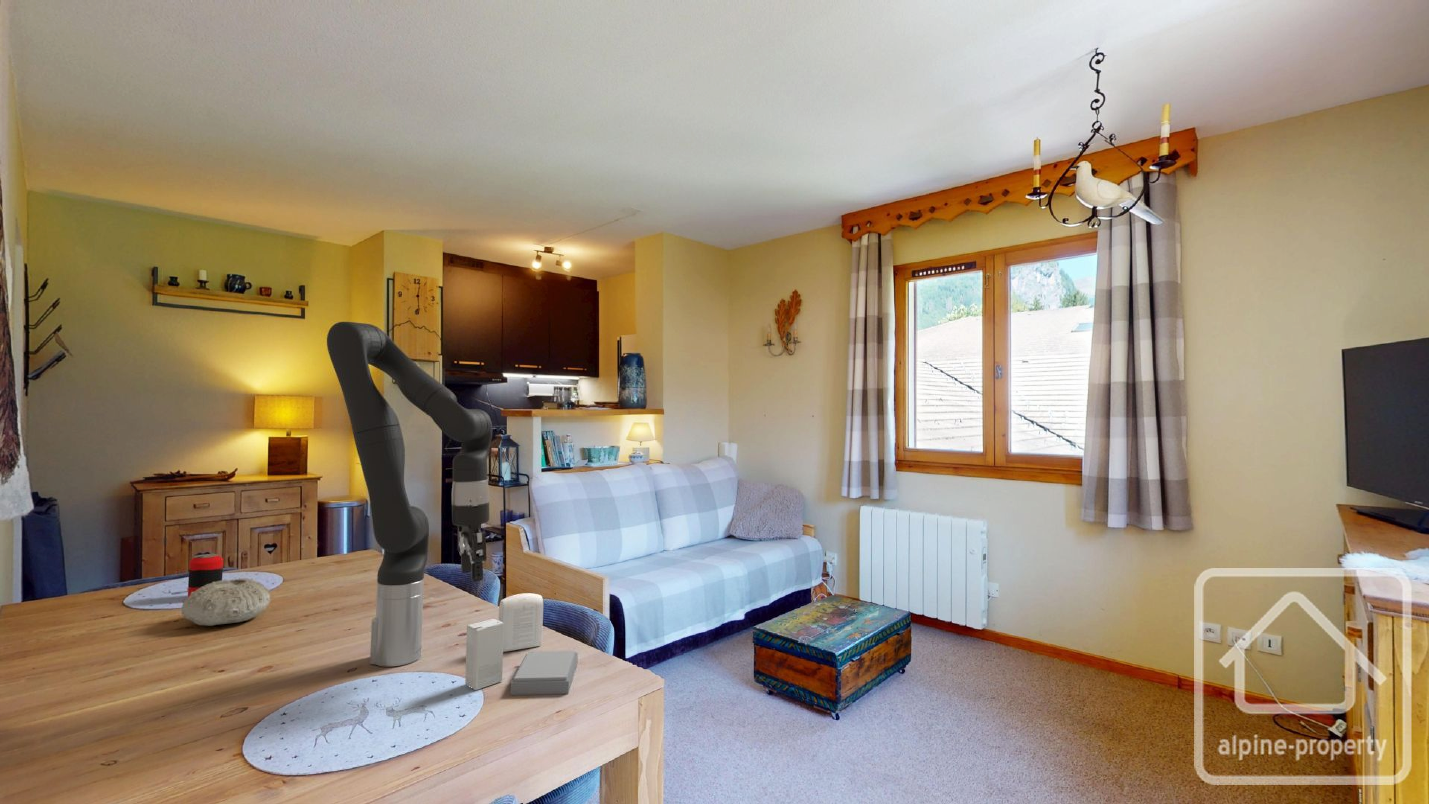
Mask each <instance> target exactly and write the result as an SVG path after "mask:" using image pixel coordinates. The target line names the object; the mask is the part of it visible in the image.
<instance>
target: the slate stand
mask: <svg viewBox="0 0 1429 804" xmlns="http://www.w3.org/2000/svg"><path fill="white" fill-rule="evenodd" d="M578 655H579V652H576V650H543V651H542V650H540V651H539V650H536V651H535V650H533V651H527V652H526V654H525V655H524V657H523V659H522V661H521V663H520V665H519V667H518V669H517V671H515V672H516V673H515V674H514V676H513V678H512V680H511V682H510V696H525V695H527V696H529V695H533V696H534V695H564V694H565V695H567V694H568V695H569V693H570V690H571V687H572V683H573V679H574V677H575V674H574V673H576V670H577V667H578V664H577V663H578V657H579V656H578Z"/></svg>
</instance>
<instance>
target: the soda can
mask: <svg viewBox="0 0 1429 804" xmlns="http://www.w3.org/2000/svg"><path fill="white" fill-rule="evenodd" d="M188 566H189V567H188V579H187V580H188V584H187V598H188V597H189V596H190V594H191V592H194V591H196V590H197V589H199V588H201V587H203V586H205V585H206V584H210V583H212V582H216V581H223V570H224V568H223V567H224V558H223V557H222V556H221V555H220V554H219V553H204V554H198V555H195V556H193V558H191V560H189V564H188Z"/></svg>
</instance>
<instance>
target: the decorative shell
mask: <svg viewBox="0 0 1429 804" xmlns="http://www.w3.org/2000/svg"><path fill="white" fill-rule="evenodd" d="M269 591H270V590H269V589H268V588H267V587H266V586H265V585H264V584H263V583H261V582H260V581H257V580H254V579H253V578H251V579H250V578H246V577H245V578H241V577H240V578H237V579H230V580H229V579H228V580H227V579H222V581H216V582H212V583H210V584H206V585H205V586H203V587H201V588H199V589H197V590H196V591H194V592H191V594H190V596H189V597H188V596H187V598H186V599H184V600H183V601H182V606H181V614H182V616H183V618H184V619H186V620H189V621H190V622H193V623H194V624H196V625H198V626H208V627H211V626H213V627H214V626H216V625H217V626H218V625H225V624H235V623H237V624H238V623H242V622H245V621H249V620H251V619H253V618H255V617H257V616H259V615H260V614H261V613H263V612H264V611H265V610H266V609H267V608H268V606H269V604H270V602H271V594H270V592H269Z"/></svg>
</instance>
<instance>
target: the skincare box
mask: <svg viewBox="0 0 1429 804" xmlns="http://www.w3.org/2000/svg"><path fill="white" fill-rule="evenodd" d="M498 620H499V619H495V618H491V619H487V620H483V621H479V622H476V623H471V624H467V626H466V641H465V642H466V647H465V649H466V650H465V676H464V677H465V679H464V681H465V685H466V684H467V685H468V686H470V687H472V688H473V689H474V690H473V689H472V688H471V689H472V690H473V691H478V690H480V689H483V688H487V687H489V686H493V685H494V684H498V683H500V682H502V681H503V668H504V667H503V666H504V661H503V660H504V652H503V633H504V623H503V622H501V621H498ZM467 685H466V686H467ZM468 686H467V687H468ZM470 687H469V688H470Z"/></svg>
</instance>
